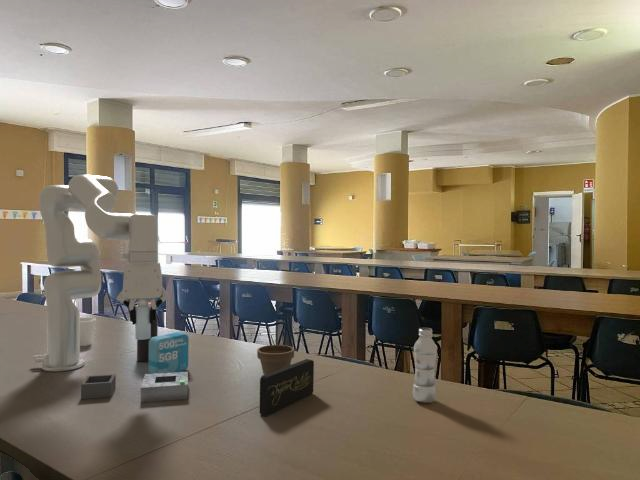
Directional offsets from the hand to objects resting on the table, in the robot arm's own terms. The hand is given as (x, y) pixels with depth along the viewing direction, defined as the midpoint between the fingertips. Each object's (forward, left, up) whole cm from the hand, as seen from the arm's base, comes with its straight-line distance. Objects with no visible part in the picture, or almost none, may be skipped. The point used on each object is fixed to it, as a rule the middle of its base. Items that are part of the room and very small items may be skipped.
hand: (143, 322), depth 132 cm
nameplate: (+38, -17, -20) cm, 46 cm away
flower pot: (+38, +3, -20) cm, 43 cm away
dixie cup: (-28, +64, -20) cm, 73 cm away
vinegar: (-2, +36, -20) cm, 41 cm away
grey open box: (-12, +3, -20) cm, 23 cm away
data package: (+6, +19, -20) cm, 28 cm away
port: (+6, -1, -20) cm, 21 cm away
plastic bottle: (+75, -23, -20) cm, 81 cm away
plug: (0, 0, -4) cm, 4 cm away
